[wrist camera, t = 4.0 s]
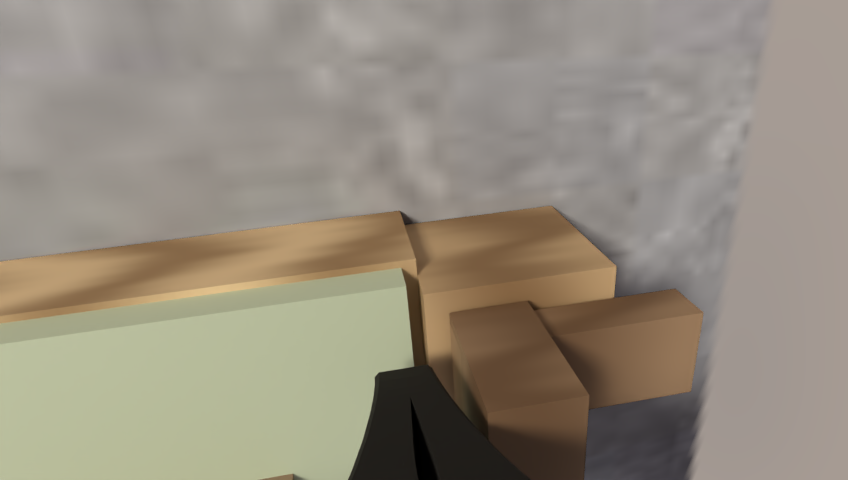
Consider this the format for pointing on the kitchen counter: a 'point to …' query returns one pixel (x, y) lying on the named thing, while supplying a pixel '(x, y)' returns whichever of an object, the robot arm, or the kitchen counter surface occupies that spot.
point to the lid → (203, 383)
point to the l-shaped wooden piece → (567, 370)
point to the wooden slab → (335, 269)
